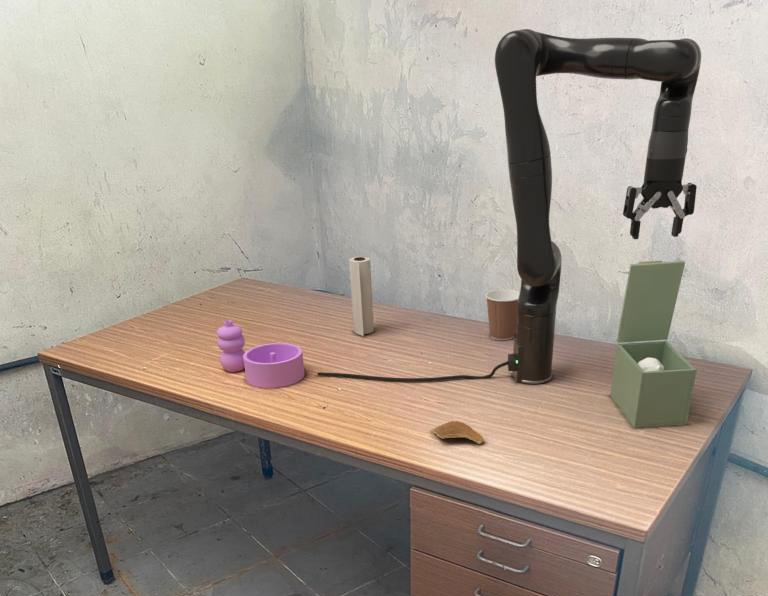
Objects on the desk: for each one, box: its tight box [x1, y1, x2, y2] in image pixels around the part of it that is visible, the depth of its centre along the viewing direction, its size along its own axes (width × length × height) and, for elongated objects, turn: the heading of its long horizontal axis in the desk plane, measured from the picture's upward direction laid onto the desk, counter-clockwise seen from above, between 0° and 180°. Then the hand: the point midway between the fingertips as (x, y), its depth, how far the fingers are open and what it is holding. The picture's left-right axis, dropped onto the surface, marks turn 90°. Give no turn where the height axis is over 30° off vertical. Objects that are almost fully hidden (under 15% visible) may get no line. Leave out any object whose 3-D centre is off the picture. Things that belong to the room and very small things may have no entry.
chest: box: [609, 340, 697, 429], centre depth 171 cm, size 18×12×13 cm, turn 3°
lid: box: [616, 260, 686, 344], centre depth 170 cm, size 18×12×5 cm
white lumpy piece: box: [638, 357, 664, 372], centre depth 170 cm, size 6×8×12 cm
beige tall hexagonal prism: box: [348, 256, 375, 337], centre depth 222 cm, size 7×6×21 cm
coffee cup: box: [485, 289, 520, 341], centre depth 216 cm, size 10×10×12 cm
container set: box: [216, 319, 306, 389], centre depth 200 cm, size 25×15×13 cm, turn 60°
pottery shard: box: [432, 420, 485, 445], centre depth 166 cm, size 10×9×2 cm
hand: (654, 237), depth 163 cm, fingers open, 8 cm apart
